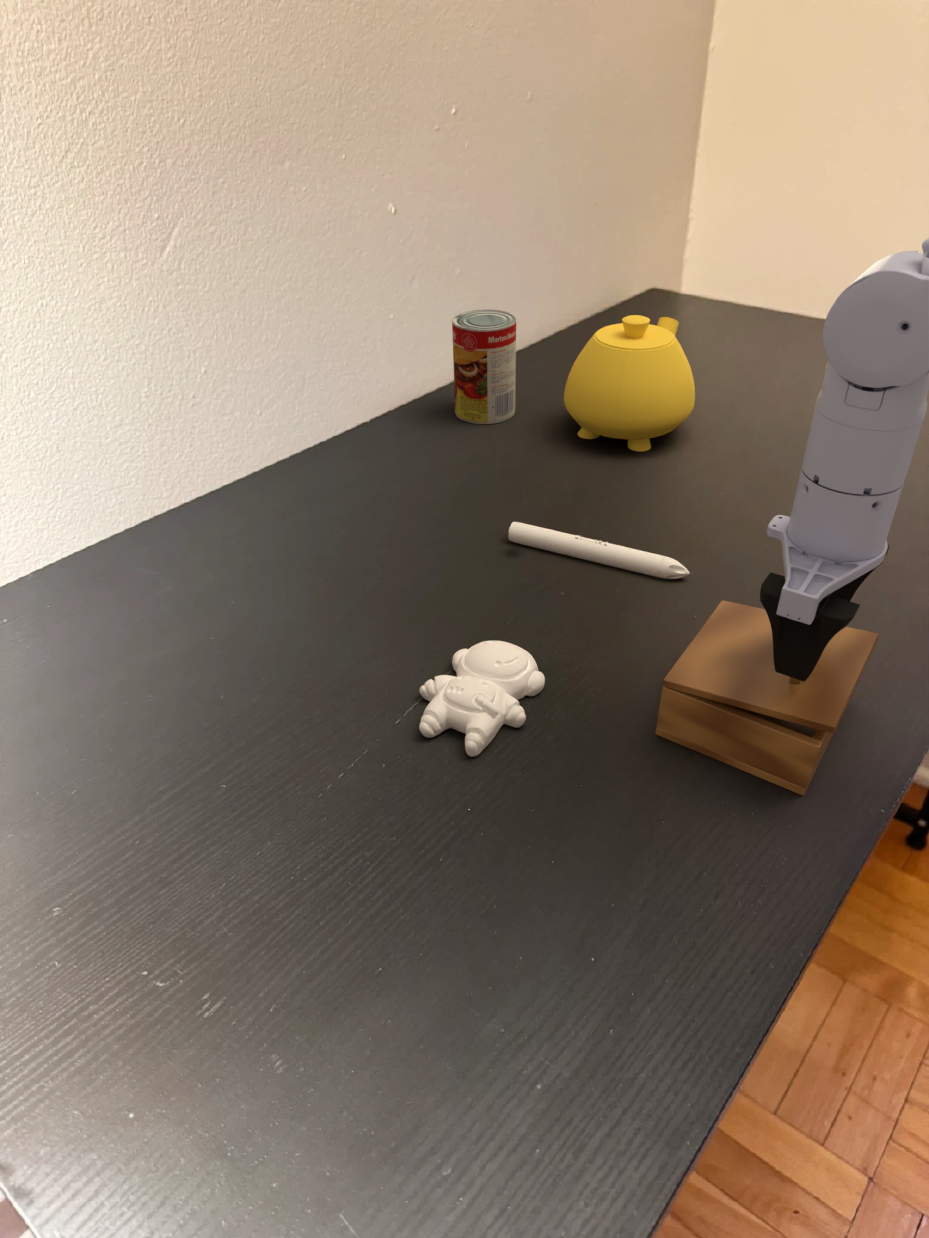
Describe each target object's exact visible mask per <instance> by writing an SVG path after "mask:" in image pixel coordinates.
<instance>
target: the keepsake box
mask: <svg viewBox="0 0 929 1238" xmlns="http://www.w3.org/2000/svg"><path fill="white" fill-rule="evenodd" d="M661 689H662V690H661V696H660V700H659V701H660V702H659V709H658V715H657V721H656V727H655V733H654V734H655V735H656V736H658V737H661V738H663V739H666V740H668V741H671V742H673V743H675V744H678V745H681V746H683V747H685V748H687V749H689V750H692V751H695V752H697V753H699V754H701V755H704V756H705V757H706V756H707V757H709V758H711V759H714V760H716V761H719V762H721V763H724V764H725V765H728V766H731V767H733V768H736V769H738V770H740V771H742V772H745V773H748V774H750V775H751V776H755V777H757V778H759V779H762V780H764V781H766V782H769V783H771V784H774V785H776V786H778V787H781V788H783V789H785V790H788V791H791V792H792V793H795V794H798V795H800V796H802V797H804V796H805V795H806V793H807V790H808V788H809V786H810V784H811V782H812V780H813V777H814V775H815V773H816V771H817V769H818V767H819V764H820V762H821V760H822V759H823V756H824V755H825V752H826V750H827V747H828V746H829V744H830V741H831V740H832V737H833V735H834V734H832V733H828V732H825V731H821V730H818V729H814V728H810V727H807V726H803V725H800V724H796V723H792V722H789V721H785V720H782V719H778V718H775V717H771V716H767V715H764V714H760V713H757V712H753V711H750V710H746V709H742V708H739V707H735V706H732V705H728V704H725V703H721V702H717V701H714V700H710V699H707V698H703V697H700V696H696V695H692V694H689V693H685V692H682V691H678V690H674V689H671V688H667V687H664V686H663V685H662V688H661Z"/></svg>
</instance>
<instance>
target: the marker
mask: <svg viewBox="0 0 929 1238" xmlns="http://www.w3.org/2000/svg"><path fill="white" fill-rule="evenodd" d="M507 539H508V541H509V542H511V543H514V544H519V545H523V546H527V547H530V548H535V549H539V550H543V551H548V552H551V553H555V554H560V555H565V556H569V557H571V558H577V559H581V560H585V561H588V562H593V563H597V564H600V565H605V566H609V567H613V568H618V569H621V570H626V571H630V572H634V573H637V574H643V575H646V576H651V577H654V578H657V579H664V580H676V579H681V578H685V577H687V576H688V575H690V574H691V573H690V571H689V570H688V568H686V567H685V565H683V564H682V563H681V562H679V561H678V560H677V559H674V558H672V557H669V556H666V555H662V554H658V553H652V552H648V551H644V550H640V549H636V548H632V547H627V546H624V545H620V544H614V543H611V542H608V541H602V540H601V539H600V540H598V539H592V538H588V537H584V536H583V535H578V534H571V533H567V532H562V531H558V530H555V529H550V528H546V527H541V526H537V525H532V524H529V523H524V522H520V521H512V522H511V524H510V526H509V528H508V535H507Z"/></svg>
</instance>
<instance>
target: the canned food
mask: <svg viewBox="0 0 929 1238" xmlns="http://www.w3.org/2000/svg"><path fill="white" fill-rule="evenodd" d="M451 325H452V326H451V328H452V329H451V330H452V331H451V332H452V355H453V356H452V358H453V360H452V361H453V363H452V364H453V389H454V390H453V392H454V394H453V395H454V414H455V416H456V417H457V418H458V419H460V420H461V421H464V422H465V423H470V424H475V425H493V424H499V423H502V422H505V421H508V420H510V419H511V418H513V417H514V416H515V413H516V380H517V379H516V378H517V377H516V375H517V374H516V373H517V372H516V371H517V369H516V368H517V367H516V366H517V317H516V315H514V314H513V313H511V312H508V311H505V310H501V309H494V308H493V309H492V308H479V309H471V310H466V311H463V312H460V313H457V314H455V315H454V316H453V317H452V319H451Z"/></svg>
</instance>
